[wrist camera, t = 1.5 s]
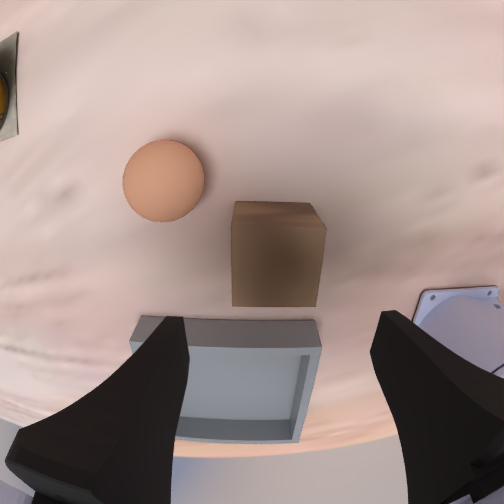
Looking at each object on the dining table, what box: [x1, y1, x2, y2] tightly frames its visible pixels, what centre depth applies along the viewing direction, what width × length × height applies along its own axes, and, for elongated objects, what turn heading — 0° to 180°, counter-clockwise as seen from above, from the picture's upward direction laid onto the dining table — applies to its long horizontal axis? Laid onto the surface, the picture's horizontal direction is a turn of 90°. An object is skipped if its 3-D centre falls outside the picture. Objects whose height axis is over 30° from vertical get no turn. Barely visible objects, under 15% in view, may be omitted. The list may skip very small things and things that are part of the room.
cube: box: [231, 201, 326, 307], centre depth 17 cm, size 4×4×4 cm
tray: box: [129, 316, 322, 444], centre depth 23 cm, size 13×13×3 cm
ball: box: [123, 140, 204, 222], centre depth 15 cm, size 4×4×4 cm
